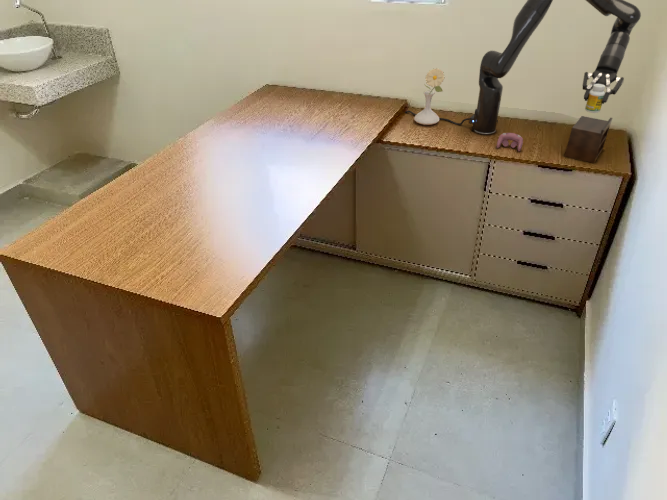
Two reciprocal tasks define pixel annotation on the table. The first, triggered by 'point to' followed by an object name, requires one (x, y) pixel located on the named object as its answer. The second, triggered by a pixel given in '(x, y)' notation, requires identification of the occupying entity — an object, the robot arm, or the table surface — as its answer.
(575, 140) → the dark wooden box
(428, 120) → the flower in vase
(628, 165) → the table surface
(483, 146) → the table surface
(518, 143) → the video game controller
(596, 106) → the supplement bottle
